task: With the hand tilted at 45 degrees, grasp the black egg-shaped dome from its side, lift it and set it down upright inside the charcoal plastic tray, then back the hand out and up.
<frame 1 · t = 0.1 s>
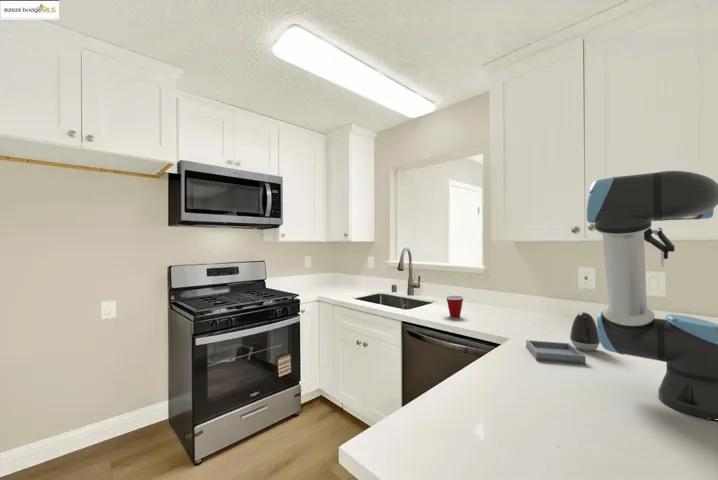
hand: (639, 263, 129), 36 cm above the countertop, tool tilted 35°, fingers open, 13 cm apart
tray: (553, 355, 125), on the countertop
plastic cup: (454, 316, 194), on the countertop
black egg-shaped dome: (584, 349, 132), on the countertop
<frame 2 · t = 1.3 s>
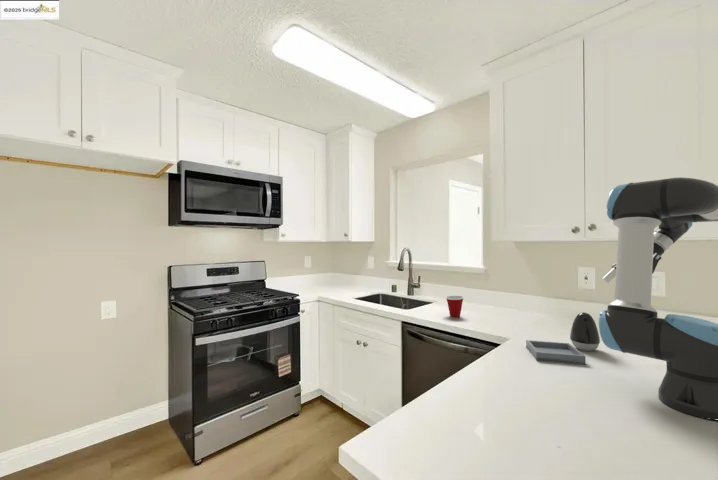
hand: (616, 282, 132), 28 cm above the countertop, tool tilted 45°, fingers open, 13 cm apart
nothing on the countertop moved.
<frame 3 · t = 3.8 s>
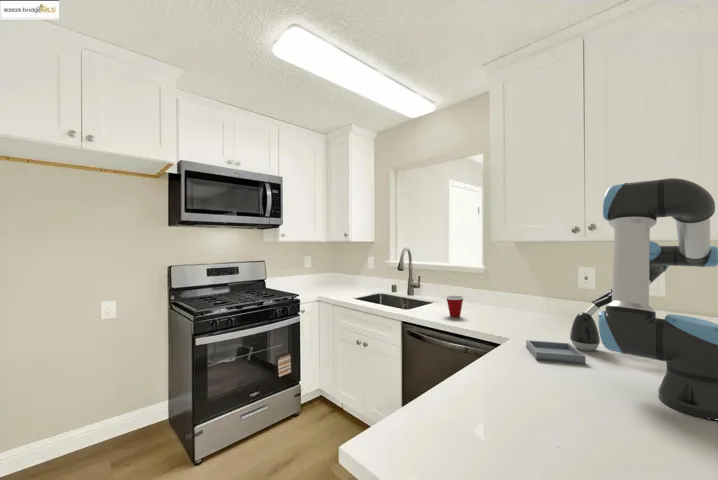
hand: (595, 320, 133), 12 cm above the countertop, tool tilted 45°, fingers open, 13 cm apart
nothing on the countertop moved.
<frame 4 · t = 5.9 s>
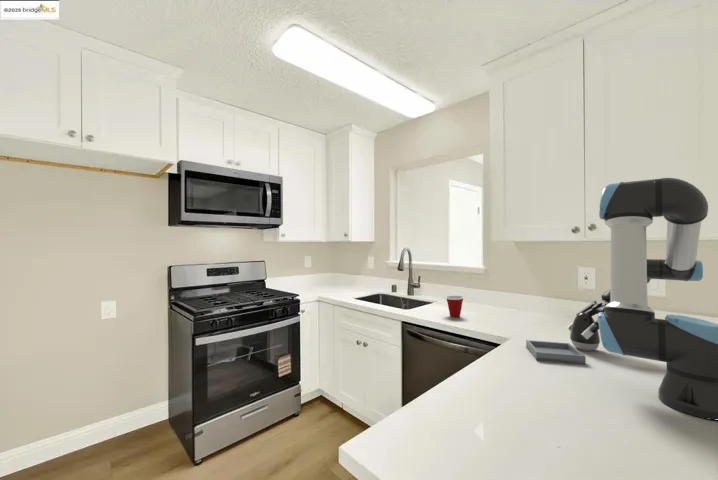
hand: (576, 333, 133), 6 cm above the countertop, tool tilted 45°, fingers closed on black egg-shaped dome, 10 cm apart
black egg-shaped dome: (584, 349, 132), on the countertop, touching gripper
everything else where it was.
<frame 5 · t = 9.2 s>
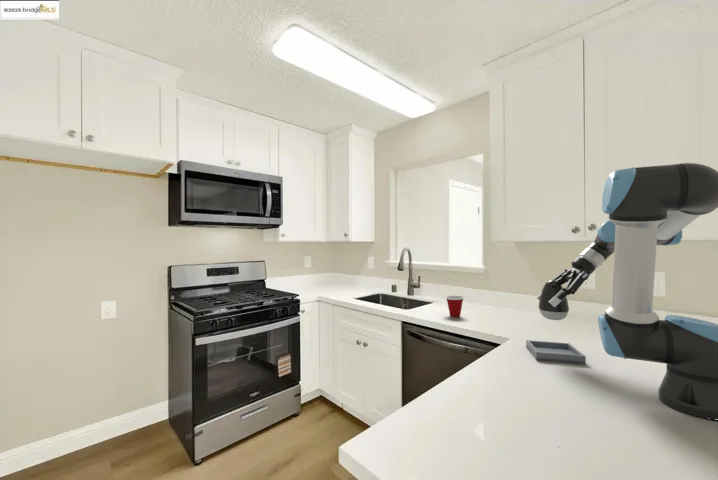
hand: (545, 302, 125), 21 cm above the countertop, tool tilted 45°, fingers closed on black egg-shaped dome, 10 cm apart
black egg-shaped dome: (553, 319, 125), point 14 cm above the countertop, touching gripper
everything else where it was.
when the fingers open (8 cm above the countertop, at t = 12.7 s): black egg-shaped dome stays where it is, resting on tray.
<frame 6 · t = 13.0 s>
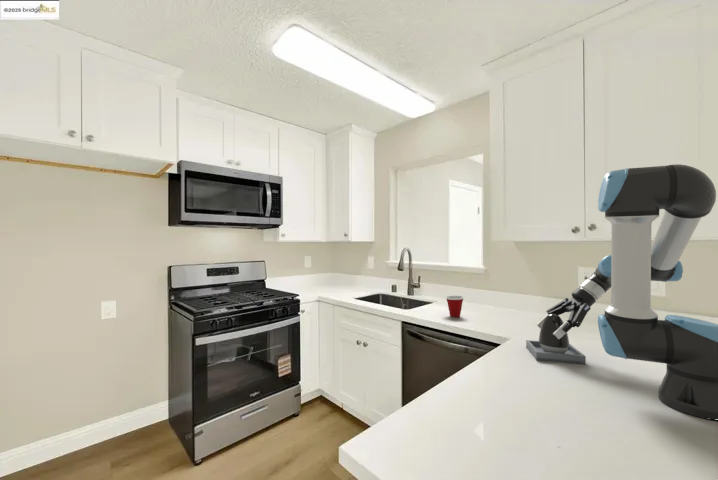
hand: (547, 331, 125), 9 cm above the countertop, tool tilted 45°, fingers open, 13 cm apart
black egg-shaped dome: (553, 353, 124), point 1 cm above the countertop, touching tray
everything else where it was.
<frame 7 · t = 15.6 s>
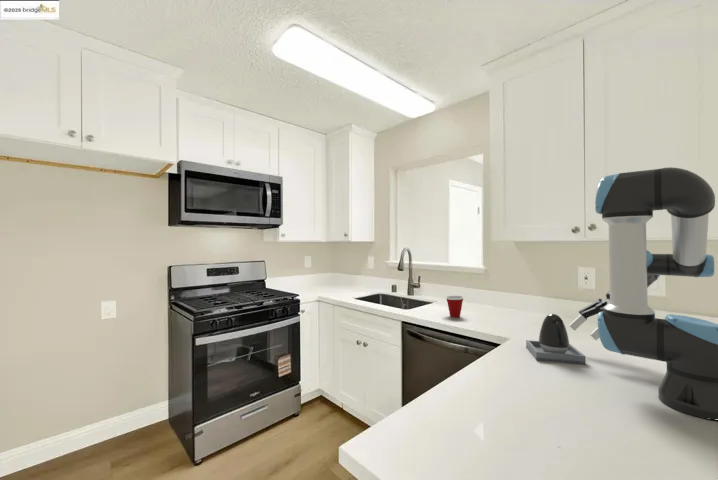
hand: (581, 332, 124), 9 cm above the countertop, tool tilted 45°, fingers open, 13 cm apart
nothing on the countertop moved.
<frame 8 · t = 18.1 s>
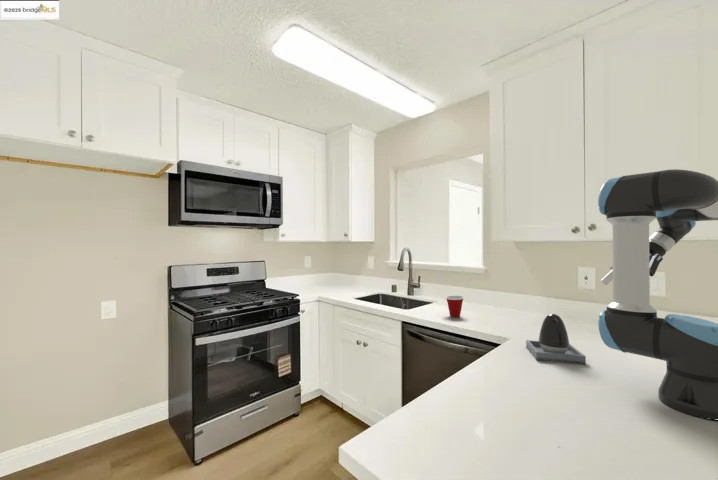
hand: (615, 284, 125), 28 cm above the countertop, tool tilted 45°, fingers open, 13 cm apart
nothing on the countertop moved.
at the end: black egg-shaped dome inside the target area on the tray (0.3 cm from its centre), point 0.8 cm above the tray's base; black egg-shaped dome tilted 0°; the gripper is holding nothing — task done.
